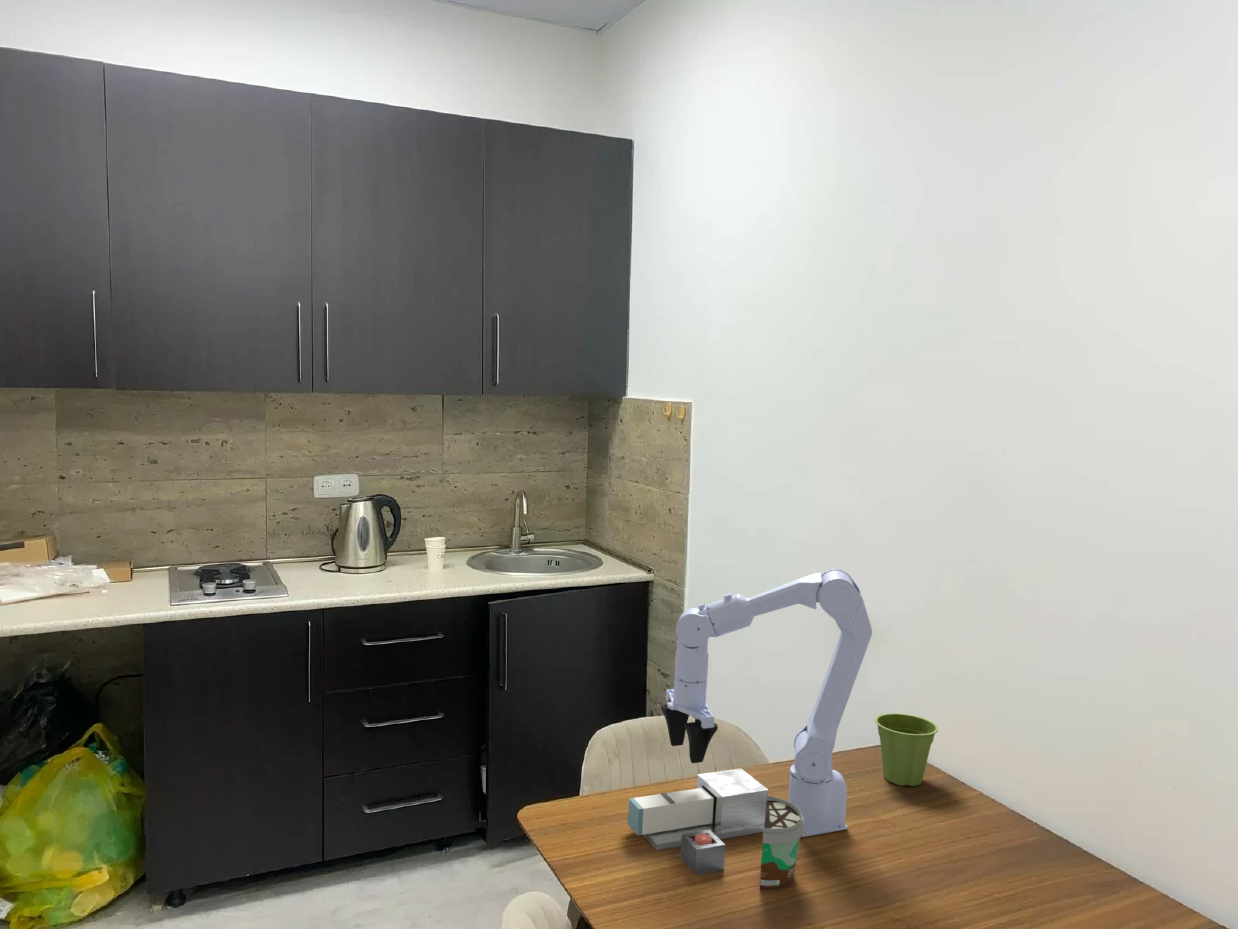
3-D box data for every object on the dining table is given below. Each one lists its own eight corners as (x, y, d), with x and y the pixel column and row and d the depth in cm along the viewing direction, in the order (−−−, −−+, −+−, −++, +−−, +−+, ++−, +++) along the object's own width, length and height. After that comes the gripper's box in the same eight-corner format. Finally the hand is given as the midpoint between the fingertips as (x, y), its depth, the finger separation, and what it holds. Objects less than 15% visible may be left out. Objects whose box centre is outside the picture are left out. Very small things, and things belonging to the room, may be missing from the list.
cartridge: (701, 812, 155) (702, 786, 154) (712, 823, 151) (713, 796, 151) (627, 824, 149) (629, 797, 149) (637, 835, 146) (638, 808, 145)
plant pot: (936, 774, 179) (941, 719, 178) (931, 798, 168) (935, 739, 167) (875, 762, 184) (879, 708, 183) (866, 784, 173) (870, 727, 172)
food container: (801, 902, 131) (806, 836, 130) (759, 895, 132) (763, 829, 132) (801, 859, 143) (805, 799, 142) (762, 853, 145) (766, 793, 144)
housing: (738, 804, 161) (740, 767, 161) (768, 831, 152) (771, 791, 152) (631, 821, 153) (633, 782, 152) (656, 850, 144) (658, 808, 143)
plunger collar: (708, 853, 144) (709, 829, 143) (723, 869, 139) (725, 844, 139) (680, 858, 142) (681, 834, 141) (695, 875, 137) (696, 849, 137)
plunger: (705, 857, 142) (706, 832, 142) (713, 865, 140) (714, 840, 139) (690, 859, 141) (692, 835, 141) (698, 868, 139) (700, 843, 138)
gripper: (652, 667, 162) (648, 740, 163) (689, 693, 149) (685, 773, 150) (687, 664, 165) (683, 736, 166) (726, 690, 152) (722, 767, 153)
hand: (686, 753), depth 158 cm, fingers open, 7 cm apart
